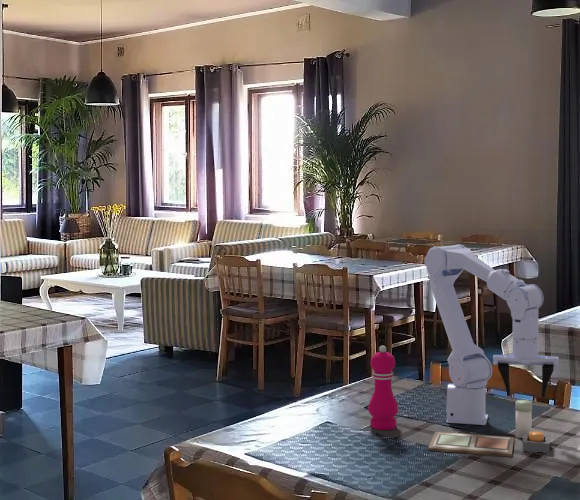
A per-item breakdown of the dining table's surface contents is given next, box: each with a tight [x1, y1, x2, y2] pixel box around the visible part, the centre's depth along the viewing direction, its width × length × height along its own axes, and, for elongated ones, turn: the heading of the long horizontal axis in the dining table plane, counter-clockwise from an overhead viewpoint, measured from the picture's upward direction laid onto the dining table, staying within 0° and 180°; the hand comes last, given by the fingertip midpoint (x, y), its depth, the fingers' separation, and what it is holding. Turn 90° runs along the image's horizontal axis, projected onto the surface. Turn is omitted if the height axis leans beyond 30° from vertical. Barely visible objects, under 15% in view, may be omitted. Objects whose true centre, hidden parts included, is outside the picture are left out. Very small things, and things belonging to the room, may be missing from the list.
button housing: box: [522, 434, 551, 454], centre depth 191 cm, size 6×6×2 cm
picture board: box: [427, 430, 515, 458], centre depth 194 cm, size 18×12×1 cm, turn 73°
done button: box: [529, 430, 545, 442], centre depth 190 cm, size 3×3×2 cm
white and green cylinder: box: [514, 399, 533, 440], centre depth 199 cm, size 4×4×8 cm
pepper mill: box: [368, 345, 399, 431], centre depth 208 cm, size 7×7×20 cm
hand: (525, 395), depth 198 cm, fingers open, 7 cm apart
